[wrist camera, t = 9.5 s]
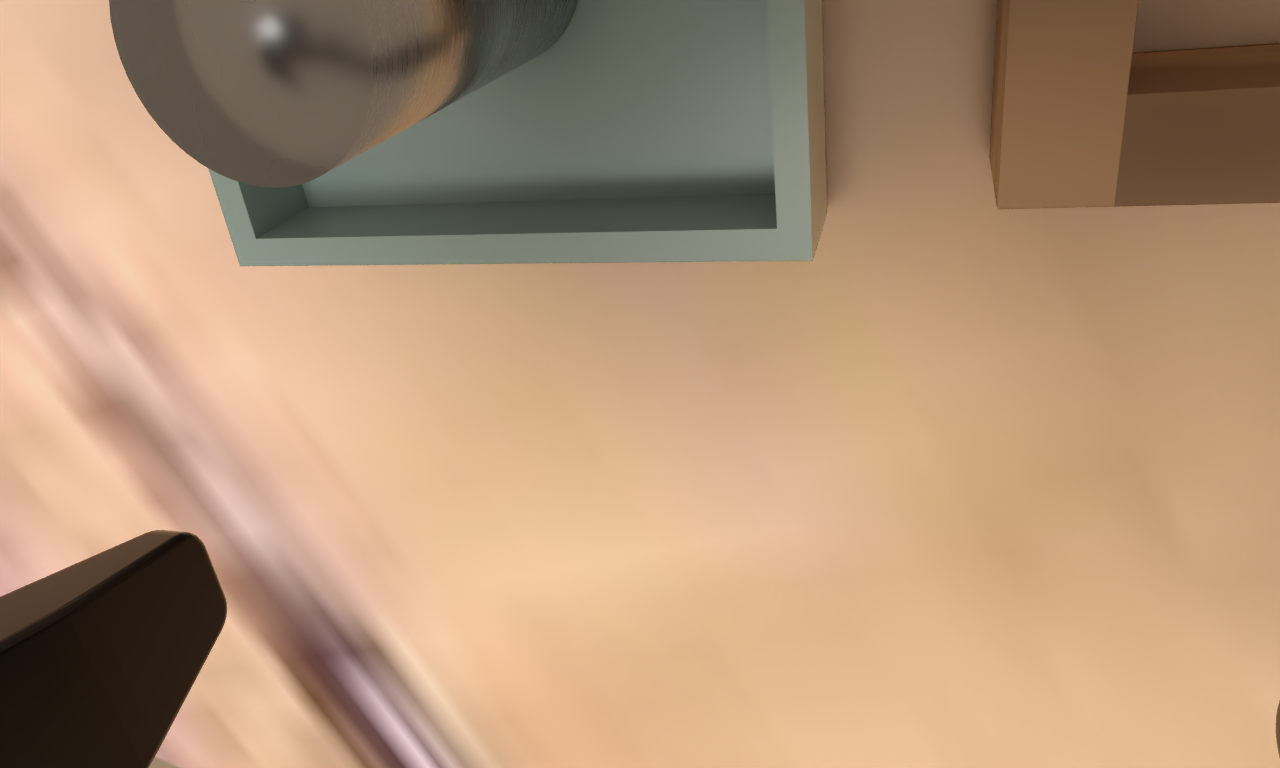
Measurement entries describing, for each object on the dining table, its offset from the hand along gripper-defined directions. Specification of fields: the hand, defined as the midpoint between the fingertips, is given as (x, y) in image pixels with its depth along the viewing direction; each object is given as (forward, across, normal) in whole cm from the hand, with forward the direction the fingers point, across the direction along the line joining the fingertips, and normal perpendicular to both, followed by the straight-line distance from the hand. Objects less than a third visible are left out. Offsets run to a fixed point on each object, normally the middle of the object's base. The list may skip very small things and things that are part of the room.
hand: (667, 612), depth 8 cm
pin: (+12, +6, -4) cm, 14 cm away
